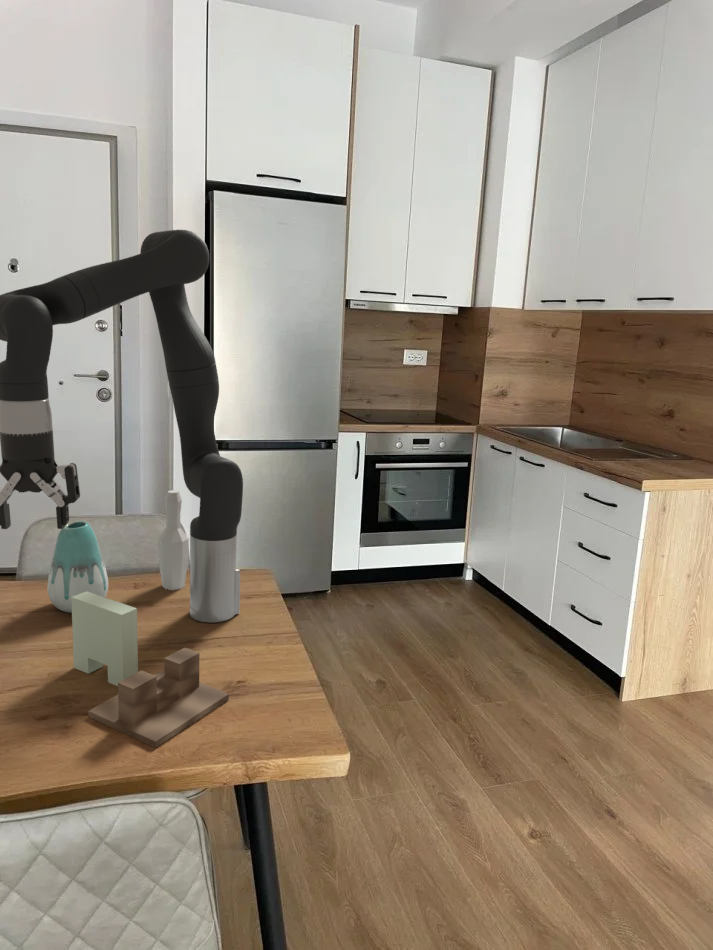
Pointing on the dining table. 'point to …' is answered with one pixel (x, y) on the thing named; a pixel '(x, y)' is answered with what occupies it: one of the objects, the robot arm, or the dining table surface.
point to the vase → (76, 566)
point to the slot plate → (160, 700)
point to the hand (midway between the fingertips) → (33, 527)
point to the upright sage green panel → (104, 636)
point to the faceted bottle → (173, 545)
